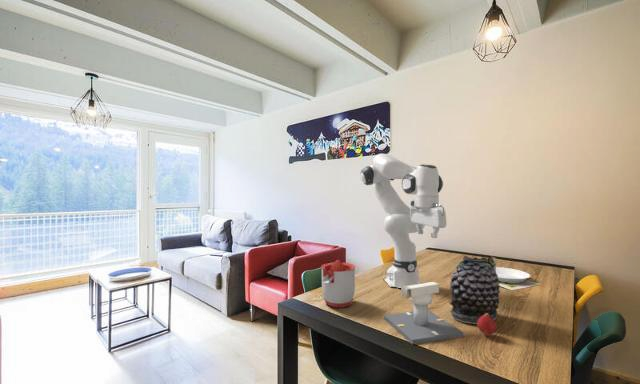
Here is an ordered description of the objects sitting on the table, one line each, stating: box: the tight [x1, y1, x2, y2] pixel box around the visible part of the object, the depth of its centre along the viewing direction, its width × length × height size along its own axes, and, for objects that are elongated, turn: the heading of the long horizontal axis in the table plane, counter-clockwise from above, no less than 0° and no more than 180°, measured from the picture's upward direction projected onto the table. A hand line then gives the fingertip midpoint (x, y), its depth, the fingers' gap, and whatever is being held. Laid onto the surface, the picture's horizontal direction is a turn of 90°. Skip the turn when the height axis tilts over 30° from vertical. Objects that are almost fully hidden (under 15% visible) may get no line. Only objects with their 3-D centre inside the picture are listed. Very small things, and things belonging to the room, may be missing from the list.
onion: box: [476, 313, 498, 337], centre depth 100 cm, size 6×6×8 cm
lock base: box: [383, 303, 464, 345], centre depth 107 cm, size 20×20×10 cm
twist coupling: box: [400, 281, 440, 306], centre depth 107 cm, size 15×8×6 cm, turn 112°
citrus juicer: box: [320, 259, 356, 308], centre depth 130 cm, size 16×17×20 cm
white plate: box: [496, 266, 531, 284], centre depth 166 cm, size 25×25×4 cm
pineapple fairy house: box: [448, 255, 501, 325], centre depth 114 cm, size 21×15×25 cm
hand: (427, 235), depth 121 cm, fingers open, 8 cm apart
